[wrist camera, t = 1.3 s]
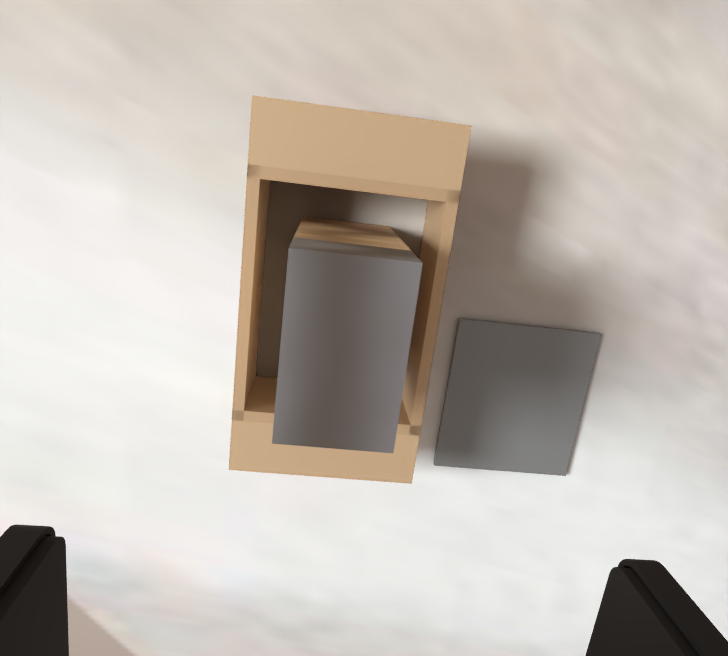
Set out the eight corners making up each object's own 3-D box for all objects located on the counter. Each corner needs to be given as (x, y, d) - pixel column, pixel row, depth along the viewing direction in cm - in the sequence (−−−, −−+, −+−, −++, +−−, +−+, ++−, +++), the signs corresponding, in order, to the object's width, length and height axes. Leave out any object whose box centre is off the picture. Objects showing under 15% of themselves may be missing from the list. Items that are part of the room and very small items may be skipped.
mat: (599, 333, 35) (601, 334, 35) (563, 473, 38) (565, 475, 37) (459, 318, 34) (460, 319, 34) (433, 463, 37) (434, 465, 37)
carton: (449, 130, 31) (471, 125, 26) (400, 440, 36) (411, 483, 32) (264, 105, 30) (252, 95, 25) (242, 427, 35) (228, 469, 31)
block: (389, 226, 32) (422, 262, 21) (372, 356, 35) (393, 453, 23) (303, 216, 32) (288, 247, 20) (291, 348, 34) (272, 443, 23)
